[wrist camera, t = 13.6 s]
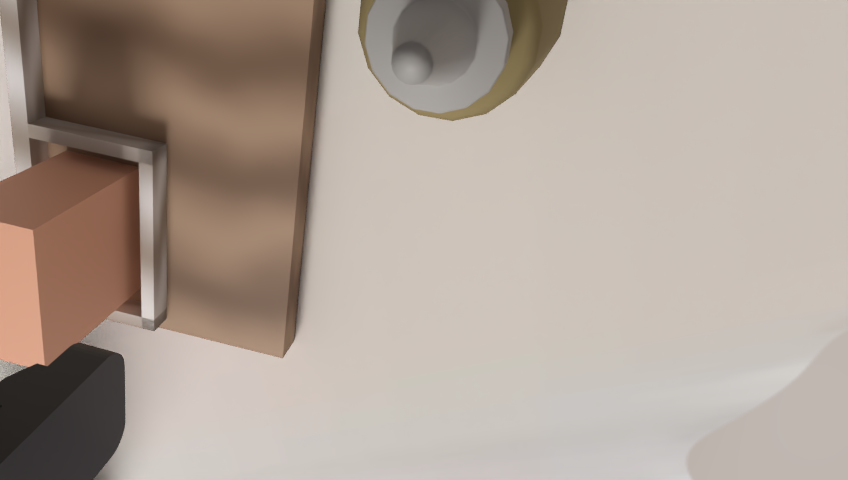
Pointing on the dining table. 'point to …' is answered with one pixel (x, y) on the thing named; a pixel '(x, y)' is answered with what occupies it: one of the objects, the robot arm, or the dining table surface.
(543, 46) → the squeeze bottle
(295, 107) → the brown wooden tray
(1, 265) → the carton
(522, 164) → the dining table surface
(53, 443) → the robot arm
